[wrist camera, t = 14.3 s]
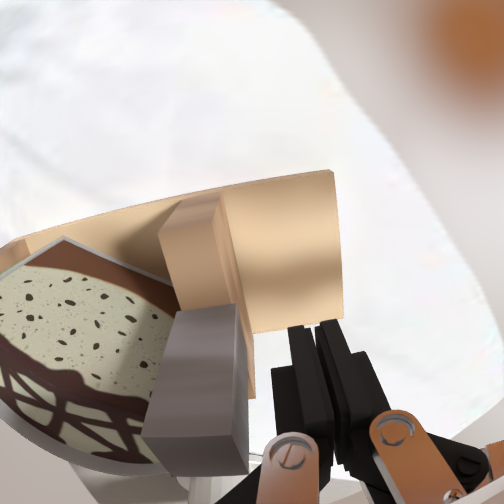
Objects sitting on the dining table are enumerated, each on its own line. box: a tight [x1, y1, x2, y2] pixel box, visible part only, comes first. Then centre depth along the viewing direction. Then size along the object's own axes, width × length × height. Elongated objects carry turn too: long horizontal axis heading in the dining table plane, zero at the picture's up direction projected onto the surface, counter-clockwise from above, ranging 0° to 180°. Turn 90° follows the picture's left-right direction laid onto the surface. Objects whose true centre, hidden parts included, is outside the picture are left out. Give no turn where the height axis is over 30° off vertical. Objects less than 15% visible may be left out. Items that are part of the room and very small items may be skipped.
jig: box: [0, 169, 344, 334], centre depth 16 cm, size 9×21×6 cm, turn 100°
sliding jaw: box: [140, 192, 256, 477], centre depth 12 cm, size 9×2×11 cm, turn 10°
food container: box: [0, 235, 181, 477], centre depth 14 cm, size 12×6×10 cm, turn 66°
